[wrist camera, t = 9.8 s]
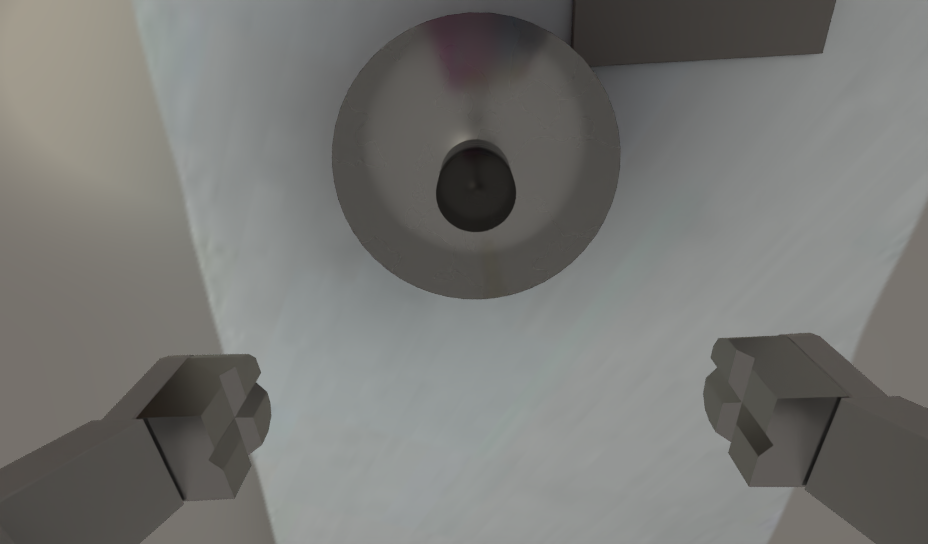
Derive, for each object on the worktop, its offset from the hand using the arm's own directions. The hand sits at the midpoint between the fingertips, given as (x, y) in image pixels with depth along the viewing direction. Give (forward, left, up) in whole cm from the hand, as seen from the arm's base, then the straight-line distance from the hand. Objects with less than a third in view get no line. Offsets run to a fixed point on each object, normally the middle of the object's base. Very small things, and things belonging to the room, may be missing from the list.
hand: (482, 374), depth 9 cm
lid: (0, 0, -15) cm, 15 cm away
